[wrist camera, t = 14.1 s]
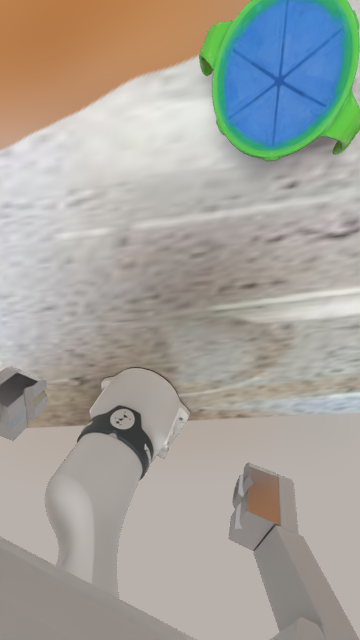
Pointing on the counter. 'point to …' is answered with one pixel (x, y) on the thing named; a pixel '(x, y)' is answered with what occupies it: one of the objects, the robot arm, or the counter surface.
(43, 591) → the robot arm
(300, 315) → the counter surface
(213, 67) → the snack cup
